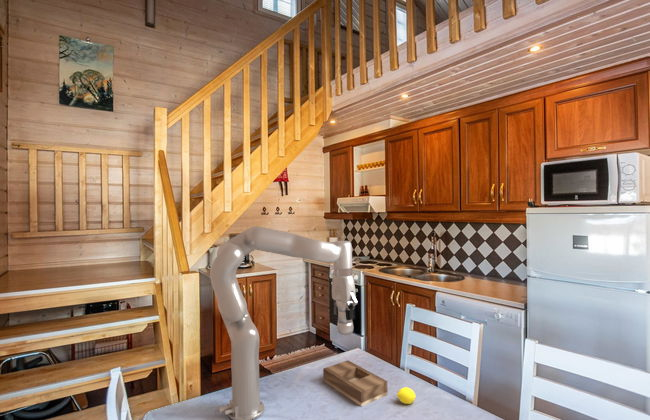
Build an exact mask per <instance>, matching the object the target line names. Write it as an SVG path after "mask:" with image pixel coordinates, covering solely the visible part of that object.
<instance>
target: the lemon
mask: <svg viewBox="0 0 650 420" xmlns="http://www.w3.org/2000/svg"><path fill="white" fill-rule="evenodd" d="M396 396H397V398H398V400H399V401H400V402H401V403H402V404H405V405H410V404H412V403H414V401H415V400H416V397H417V396H416V393H415V392H414V390H413V389H411V388H410V387H408V386H407V387H405V386H404V387H402V388H400V389H399V390H398V392H397V393H396Z"/></svg>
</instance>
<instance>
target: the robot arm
mask: <svg viewBox="0 0 650 420" xmlns="http://www.w3.org/2000/svg"><path fill="white" fill-rule="evenodd" d="M253 251H260V252H266V253H271V254H276V255H282V256H285V257H286V256H287V257H291V258H297V259H305V260H309V261H316V262H320V263H326V264H333V265H332V266H333V267H332V268H333V275H332V281H331V298H332V300H333V302H334V303H335V304H334V305H335V307H336V308H335V309H336V317H337V318H338V306H337V300H336V296H337V295H338V294H339V295H340V297H341V302H342V303H346V307H347V310H346V320H347V321H348V320H352V321H353V320H354V309H355V308H356V305H358V300H357V298H356V297H357V295H356V286H355V284H356V283H355V279H354V276H353V275H354V274H353V273H354V272H353V271H354V270H353V269H354V268H353V246H352V242H351V241H348V240H336V241H322V240H318V239H313V238H309V237H305V236H303V235H299V234H296V233H292V232H286V231H283V230H278V229H273V228H269V227H268V228H267V227H263V226H257V225H253V226H250V227H248V228H247V229H245V230H243V232H240V233H238V234H236V235H235V236H233V237H232V238H230V239H228V240H226V241H225V242H223V243H222V244H221V245H220V246H219V247H218V248H217V251H216V257H215V258H214V259H213V262H212V265H211V267H210V272H209V278H210V283H211V287H212V289H213V292H214V296H215V297H216V301H217V308H218V311H219V312H220V315H221V318H222V320H223V323H224V326H225V328H226V331H227V334H228V336H229V340H230V347H231V348H230V349H231V352H230V353H231V355H230V358H231V359H230V362H231V363H230V364H231V365H230V366H231V367H230V369H231V394H232V395H231V396H232V397H231V399H230V400H229V403H227V405H224V406H221V407H218V414H219V415H221V414H224V415H225V416H228V418H229V417H230V418H231V419H230V418H229V419H230V420H232V419H233V420H252V419H253V420H256V419H257V418H259V417H261V416H262V415H263V414H264V412H265V404H264V402H262V401H261V392H260V391H261V390H260V359H259V355H260V334H259V331H258V328H257V327H256V325H255V323H254V322H253V321H252V318H251V315H250V313H249V310H248V304H247V300H246V299H245V297H244V295H243V292H242V290H241V288H240V284H239V281H238V278H237V271H238V270H237V269H238V268H239V267H240V266H241V264H242V263H243V260H244V258H245V257H246V256H247V255H249V254H250V253H253ZM350 299H351V301H350ZM349 303H350V306H349ZM255 418H256V419H255Z"/></svg>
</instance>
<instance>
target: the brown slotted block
mask: <svg viewBox="0 0 650 420" xmlns="http://www.w3.org/2000/svg"><path fill="white" fill-rule="evenodd" d="M322 372H323V382H325V383H326V384H327V385H329V386H330V387H332V388H334V390H336V391H338V392H340V393H341V394H343V395H344V396H345V397H347V398H348V399H350V401H351V400H352V401H353V402H354V403H356V404H357V405H358V406H360V407H363V406H366V405H368V404H370V403H372V402H376V401H377V400H380V399H382V398H384V397H387V396H388V395H389V393H388V391H389V389H388V380H386V379H384V378H382V377H381V376H379V375H376V374H374V373H373V372H370V371H369V370H367V369H366V368H363V367H362V366H360V365H358V364H357V363H355V362H353V361H350V360H348V359H347V360H345V361H342V362H339V363H335V364H333V365H330V366H327V367H323V371H322Z"/></svg>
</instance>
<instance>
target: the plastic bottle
mask: <svg viewBox="0 0 650 420" xmlns="http://www.w3.org/2000/svg"><path fill="white" fill-rule="evenodd" d="M336 300H337V306H338V317H337V324H336V325H337V327H336V329H337V332H338V333H339V334H340V335H345V336H346V335H350V334H353V332H354V329H355V328H354V322H353V319H352V320H348V321H347V320H346V310H347V307H346V303H342V302H341V297H340V295H339V294H338V295H337V296H336ZM350 301H351V299H350ZM349 306H350V303H349Z"/></svg>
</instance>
